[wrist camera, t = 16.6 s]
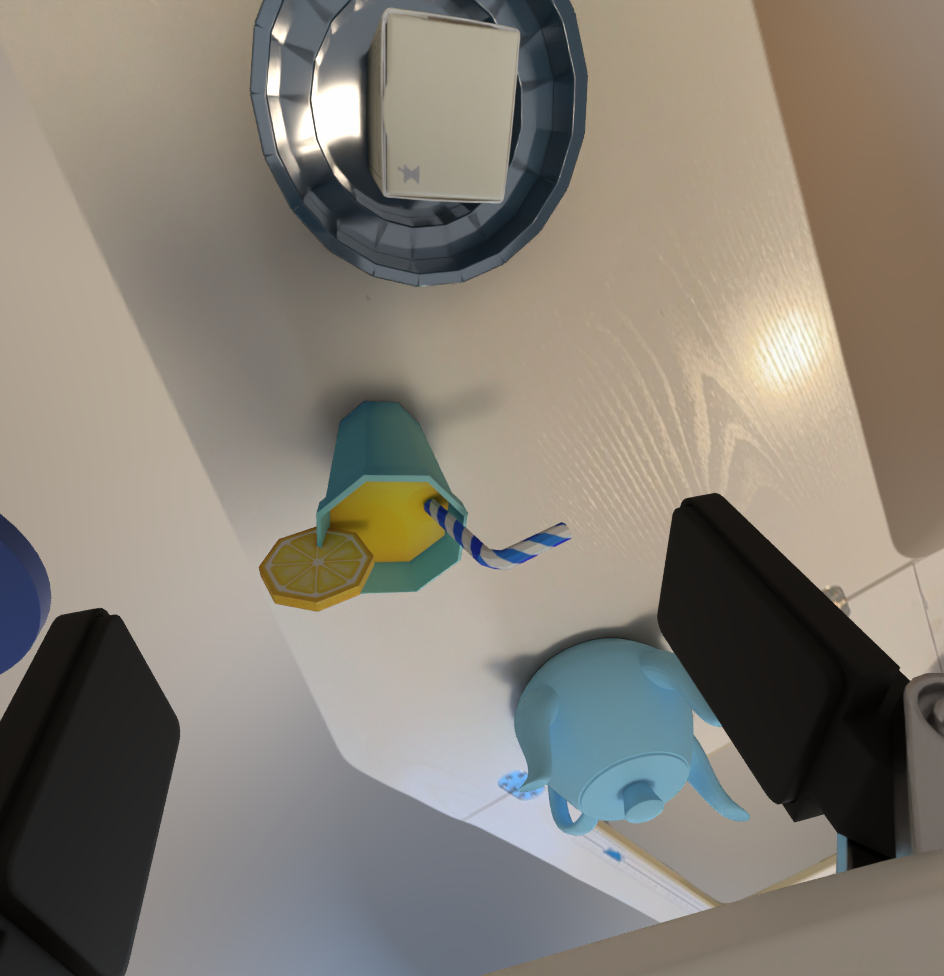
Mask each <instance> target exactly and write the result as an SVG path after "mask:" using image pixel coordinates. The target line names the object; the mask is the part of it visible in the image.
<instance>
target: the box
mask: <svg viewBox="0 0 944 976" xmlns="http://www.w3.org/2000/svg"><path fill="white" fill-rule="evenodd" d="M519 44H520V31H519V30H518V29H516V28H513V27H508V26H503V25H498V24H492V23H486V22H481V21H477V20H471V19H464V18H459V17H453V16H447V15H440V14H434V13H427V12H420V11H412V10H405V9H398V8H392V7H390V8H387V9H386V10H385V11H384V12H383V14H382V16H381V19H380V21H379V24H378V27H377V29H376V32H375V34H374V37H373V40H372V42H371V45H370V48H369V50H368V53H367V134H368V165H369V172H370V173H371V175H372V177H373V179H374V181H375V182H376V184H377V185H378V187H379V188H380V190H381V192H382V194H383V195H384V196H385V197H389V198H402V199H413V200H426V201H444V202H465V203H501V202H502V201H503V199H504V194H505V186H506V178H507V170H508V162H509V154H510V144H511V135H512V126H513V115H514V105H515V92H516V82H517V70H518V56H519Z"/></svg>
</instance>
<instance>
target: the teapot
mask: <svg viewBox="0 0 944 976" xmlns="http://www.w3.org/2000/svg"><path fill="white" fill-rule="evenodd" d="M692 709H693V711H694V712H695V713H696V714H697V715H698V716H699V717H700V718H701V719H703V720H704V721H705V722H706V723H708V724H710V725H713V726H716V727H722V725H721V724H720V722H719V721H718V719H717V718H716V716H715V715H714V713H713V712H712V710H711V709H710V707H709V705H708V704H707V702H706V701H705V699H704V698H703V696H702V695H701V693H700V692H699V690H698V688H697V687H696V685H695V684H694V682H693V681H692V679H691V678H690V676H689V675H688V673H687V672H686V670H685V668H684V667H683V665H682V664H681V662H680V661H679V659H678V658H677V656H676V655H675V654H674V653H671V652H668V651H662V650H658V649H656V648H654V647H651V646H649V645H646V644H643V643H639V642H635V641H631V640H626V639H619V638H604V639H596V640H591V641H587V642H583V643H580V644H577V645H575V646H572V647H570V648H568V649H566V650H564V651H562V652H560V653H559V654H557V655H555V656H554V657H553V658H551V659H550V660H548V661H547V662H546V663H545V664H544V665H543V666H542V667H541V668H540V669H539V670H538V671H537V672H536V673H535V675H534V676H533V677H532V679H531V680H530V682H529V683H528V685H527V687H526V688H525V690H524V692H523V694H522V696H521V698H520V700H519V703H518V705H517V709H516V713H515V718H514V728H515V733H516V737H517V739H518V742H519V744H520V747H521V749H522V751H523V754H524V756H525V758H526V761H527V765H528V777H527V779H526V781H525V782H524V784H523V785H522V786H521V787H520V789H519V791H520V792H529V791H533V790H536V789H539V788H541V787H543V786H544V785H548V792H549V801H550V807H551V812H552V816H553V819H554V821H555V823H556V825H557V826H558V828H559V829H560V830H562V831H563V832H565V833H567V834H570V835H584V834H586V833H588V832H590V831H591V830H592V829H593V828H594V827H595V826H596V824H597V822H598V821H599V820H605V821H616V820H624V819H626V820H627V821H628V822H630V823H642V822H646V821H649V820H651V819H653V818H655V817H656V816H657V815H659V814H660V813H661V812H662V810H663V809H664V804H665V803H666V802H667V801H669V800H670V799H671V798H673V797H674V796H675V795H676V794H677V793H678V792H679V791H680V790H681V789H682V787H683V786H684V784H685V783H686V781H688V782H689V783H690V784H691V785H692V786H693V787H694V789H695V790H696V791H697V792H698V793H699V794H700V795H701V796H702V797H703V798H704V800H705V801H707V803H708V804H709V805H710V806H711V807H713V808H714V809H715V810H716V811H717V812H718V813H720V814H721V815H722V816H724V817H726V818H728V819H731V820H734V821H747V820H749V819H750V815H749V814H748V813H747V812H746V811H745V810H744V809H743V808H741V807H740V806H739V805H737V804H736V803H735V802H734V801H733V800H732V799H731V798H730V797H729V796H728V795H727V793H726V792H725V791H724V789H723V788H722V786H721V785H720V783H719V781H718V779H717V777H716V775H715V773H714V772H713V769H712V767H711V765H710V763H709V760H708V758H707V756H706V754H705V752H704V750H703V748H702V746H701V745H700V743H699V741H698V740H697V739H696V737H695V736H694V735H693V715H692ZM567 801H568V802H569V803H570V804H571V805H573V806H574V807H575V808H576V809H578V810H579V811H581V812H582V814H581V816H580V817H579V818H578V820H577V821H576V822H574V823H573V822H572V820H571V817H570V814H569V811H568V806H567Z"/></svg>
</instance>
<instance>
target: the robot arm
mask: <svg viewBox="0 0 944 976" xmlns="http://www.w3.org/2000/svg"><path fill="white" fill-rule="evenodd" d="M657 619H658V624H659V628H660V630H661V633H662V634H663V636H664V638H665V639H666V641H667V642H668V644H669V645H670V647H671V648H672V650H673V651H674V653H675V655H676V656H677V658H678V659H679V661H680V662H681V664H682V665H683V667H684V668H685V670H686V672H687V673H688V675H689V676H690V678H691V679H692V681H693V682H694V684H695V685H696V687H697V688H698V690H699V692H700V693H701V695H702V696H703V698H704V699H705V701H706V702H707V704H708V705H709V707H710V709H711V710H712V712H713V713H714V715H715V716H716V718H717V719H718V721H719V722H720V724H721V725H722V727H723V729H724V730H725V732H726V733H727V735H728V736H729V738H730V739H731V741H732V742H733V744H734V745H735V747H736V749H737V750H738V752H739V753H740V755H741V756H742V758H743V759H744V761H745V762H746V764H747V765H748V767H749V769H750V770H751V772H752V773H753V775H754V776H755V778H756V779H757V781H758V783H759V784H760V785H761V787H762V789H763V790H764V792H765V793H766V794H767V796H768V797H769V798H770V799H771V800H772V801H773V802H774V803H776V804H782V805H783V806H784V807H785V809H786V811H787V812H788V814H789V815H790V817H791V818H792V819H793V821H794V822H797V821H801V820H805V819H809V818H812V817H816V816H819V815H823V814H824V815H825V816H826V818H827V819H828V820H829V822H830V823H831V824H832V826H833V827H834V829H835V830H836V832H837V860H836V874H833V875H829V876H826V877H822V878H818V879H814V880H811V881H807V882H803V883H799V884H796V885H792V886H788V887H784V888H781V889H777V890H774V891H770V892H767V893H764V894H760V895H757V896H753V897H750V898H746V899H743V900H739V901H736V902H732V903H729V904H725V905H722V906H718V907H715V908H711V909H708V910H705V911H701V912H698V913H694V914H691V915H687V916H684V917H680V918H677V919H673V920H670V921H666V922H663V923H659V924H656V925H652V926H649V927H646V928H642V929H639V930H635V931H632V932H628V933H625V934H621V935H618V936H614V937H611V938H608V939H604V940H601V941H597V942H594V943H590V944H587V945H584V946H580V947H577V948H574V949H570V950H567V951H563V952H560V953H556V954H553V955H550V956H546V957H543V958H539V959H536V960H533V961H529V962H526V963H522V964H519V965H515V966H512V967H509V968H505V969H502V970H498V971H495V972H492V973H488V974H485V975H482V976H944V673H927V674H923V675H921V676H918V677H915V678H913V679H912V680H911V681H910V680H909V679H908V678H907V677H906V676H905V675H904V674H902V673H901V672H900V671H899V669H900V667H899V666H898V665H897V664H896V663H895V662H894V661H893V660H892V659H891V658H890V657H889V656H888V655H887V654H886V653H885V652H884V651H883V650H882V649H881V648H880V647H879V646H878V645H877V644H876V643H874V642H873V641H872V640H871V639H870V638H869V637H868V636H867V635H866V634H865V633H864V632H863V631H862V630H861V629H860V628H859V627H858V626H857V625H856V624H855V623H854V622H853V621H852V620H851V619H850V618H849V617H847V616H846V615H845V614H844V613H843V612H842V611H841V610H840V609H839V608H838V607H837V606H836V605H835V604H834V603H833V602H832V601H831V600H830V599H829V598H828V597H827V596H826V595H825V594H824V593H823V592H822V591H820V590H819V589H818V588H817V587H816V586H815V585H814V584H813V583H812V582H811V581H810V580H809V579H808V578H807V577H806V576H805V575H804V574H803V573H802V572H801V571H800V570H799V569H798V568H797V567H796V566H795V565H793V564H792V563H791V562H790V561H789V560H788V559H787V558H786V557H785V556H784V555H783V554H782V553H781V552H780V551H779V550H778V549H777V548H776V547H775V546H774V545H773V544H772V543H771V542H770V541H769V540H768V539H766V538H765V537H764V536H763V535H762V534H761V533H760V532H759V531H758V530H757V529H756V528H755V527H754V526H753V525H752V524H751V523H750V522H749V521H748V520H747V519H746V518H745V517H744V516H743V515H742V514H741V513H739V512H738V511H737V510H736V509H735V508H734V507H733V506H732V505H731V504H730V503H729V502H728V501H727V500H726V499H725V498H724V497H723V496H721V495H720V494H717V493H712V494H706V495H701V496H696V497H690V498H686V499H684V500H683V501H682V503H681V506H680V508H677V509H675V510H674V512H673V515H672V522H671V528H670V535H669V541H668V548H667V554H666V561H665V568H664V574H663V581H662V587H661V594H660V600H659V607H658V614H657ZM179 740H180V726H179V721H178V719H177V716H176V715H175V713H174V711H173V709H172V708H171V706H170V704H169V702H168V700H167V698H166V697H165V695H164V693H163V691H162V690H161V688H160V686H159V684H158V682H157V681H156V679H155V677H154V675H153V674H152V672H151V670H150V668H149V666H148V665H147V663H146V661H145V659H144V658H143V656H142V654H141V652H140V651H139V649H138V647H137V645H136V643H135V642H134V640H133V638H132V636H131V634H130V633H129V631H128V629H127V627H126V625H125V624H124V622H123V620H122V619H121V617H120V616H118V615H109V614H108V612H107V611H106V610H104V609H103V608H96V609H90V610H85V611H80V612H74V613H69V614H64V615H60V616H58V617H57V618H56V619H55V620H54V621H53V623H52V625H51V626H50V629H49V630H48V632H47V634H46V636H45V638H44V640H43V642H42V643H41V645H40V647H39V649H38V651H37V653H36V655H35V657H34V659H33V661H32V662H31V664H30V666H29V668H28V670H27V672H26V674H25V676H24V678H23V680H22V681H21V683H20V685H19V687H18V689H17V691H16V693H15V694H14V696H13V698H12V700H11V702H10V704H9V706H8V708H7V710H6V712H5V713H4V715H3V717H2V719H1V721H0V976H124V975H125V973H126V971H127V967H128V964H129V960H130V955H131V951H132V946H133V942H134V938H135V933H136V929H137V924H138V920H139V916H140V911H141V907H142V902H143V898H144V894H145V890H146V885H147V880H148V876H149V872H150V867H151V863H152V859H153V855H154V850H155V846H156V841H157V837H158V832H159V828H160V824H161V819H162V815H163V811H164V806H165V802H166V798H167V793H168V789H169V784H170V780H171V775H172V771H173V767H174V763H175V758H176V753H177V749H178V745H179Z"/></svg>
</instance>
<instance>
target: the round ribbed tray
mask: <svg viewBox="0 0 944 976" xmlns="http://www.w3.org/2000/svg"><path fill="white" fill-rule="evenodd" d="M390 7H392V8H398V9H405V10H412V11H420V12H427V13H434V14H440V15H447V16H453V17H459V18H464V19H471V20H477V21H481V22H486V23H492V24H498V25H503V26H508V27H513V28H516V29H518V30H519V31H520V44H519V56H518V70H517V82H516V92H515V105H514V115H513V126H512V135H511V144H510V154H509V162H508V170H507V178H506V186H505V194H504V199H503V201H502V202H501V203H465V202H444V201H426V200H413V199H402V198H389V197H385V196H384V195H383V194H382V192H381V190H380V188H379V187H378V185H377V184H376V182H375V181H374V179H373V177H372V175H371V173H370V172H369V165H368V134H367V53H368V50H369V48H370V45H371V42H372V40H373V37H374V34H375V32H376V29H377V27H378V24H379V21H380V19H381V16H382V14H383V12H384V11H385V10H386V9H387V8H390ZM587 82H588V75H587V68H586V63H585V58H584V53H583V48H582V43H581V38H580V34H579V29H578V24H577V19H576V14H575V12H574V9H573V7H572V5H571V3H570V1H569V0H263V2H262V4H261V7H260V9H259V12H258V15H257V17H256V20H255V25H254V31H253V47H252V63H251V79H250V92H251V93H250V96H251V101H252V105H253V110H254V114H255V119H256V124H257V128H258V133H259V138H260V142H261V147H262V152H263V155H264V156H265V157H264V158H265V160H266V162H267V164H268V166H269V168H270V170H271V172H272V174H273V176H274V178H275V180H276V182H277V184H278V186H279V188H280V189H281V191H282V193H283V195H284V197H285V199H286V201H287V203H288V205H289V207H290V209H291V210H292V211H293V213H294V214H295V215H296V216H297V217H298V218H299V219H300V220H301V221H302V223H303V224H304V225H305V226H306V227H307V228H308V229H309V230H310V231H311V232H312V233H313V234H314V235H315V236H316V238H317V239H318V240H319V241H320V242H321V243H322V244H323V245H324V246H325V247H326V248H327V249H328V250H330V252H331V253H333V254H335V255H337V256H338V257H340V258H342V259H343V260H345V261H347V262H348V263H350V264H352V265H354V266H355V267H357V268H359V269H360V270H362V271H364V272H365V273H367V274H369V275H370V276H373V277H376V278H380V279H385V280H389V281H394V282H398V283H402V284H407V285H411V286H416V287H418V286H419V287H423V286H433V285H443V284H453V283H461V282H462V281H463V282H465V281H467V280H470V279H472V278H474V277H476V276H479V275H481V274H483V273H485V272H487V271H490V270H492V269H494V268H496V267H499V266H501V265H503V264H504V263H506V262H507V261H508V260H509V259H510V258H512V257H513V256H514V255H515V254H516V253H517V252H518V251H519V250H521V249H522V248H523V247H524V246H525V245H526V244H527V243H529V242H530V241H531V240H532V239H533V238H534V237H535V236H536V235H538V234H539V231H541V230H542V229H543V227H544V225H545V224H546V222H547V221H548V219H549V217H550V216H551V214H552V213H553V211H554V210H555V208H556V206H557V205H558V203H559V202H560V200H561V199H562V197H563V195H564V194H565V192H566V191H567V188H568V187H569V183H570V180H571V177H572V174H573V171H574V167H575V164H576V161H577V158H578V155H579V151H580V148H581V145H582V142H583V139H584V134H585V120H586V101H587Z"/></svg>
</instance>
